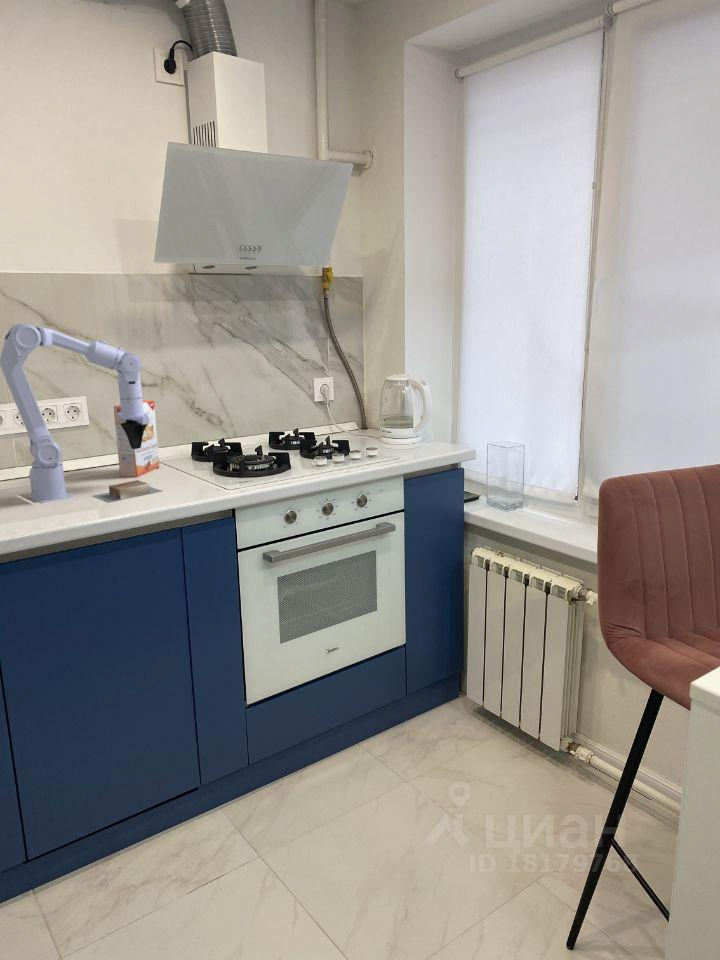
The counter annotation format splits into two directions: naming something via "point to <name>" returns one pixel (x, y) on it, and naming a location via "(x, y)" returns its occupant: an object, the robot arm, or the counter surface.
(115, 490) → the slab
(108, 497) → the mat
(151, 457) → the cracker box
